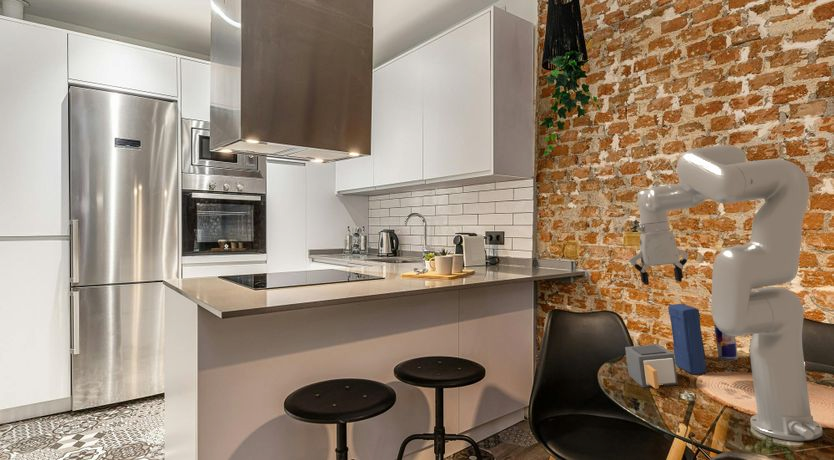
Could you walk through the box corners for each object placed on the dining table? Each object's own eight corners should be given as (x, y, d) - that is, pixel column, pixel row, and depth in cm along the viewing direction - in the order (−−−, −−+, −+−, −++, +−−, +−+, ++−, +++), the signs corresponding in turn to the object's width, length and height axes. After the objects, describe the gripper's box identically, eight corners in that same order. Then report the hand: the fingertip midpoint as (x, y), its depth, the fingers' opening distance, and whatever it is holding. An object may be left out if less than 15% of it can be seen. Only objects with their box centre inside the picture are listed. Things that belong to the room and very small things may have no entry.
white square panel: (685, 389, 128) (682, 364, 128) (655, 392, 129) (652, 367, 129) (674, 381, 135) (671, 358, 135) (646, 384, 136) (643, 360, 136)
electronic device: (708, 373, 141) (699, 308, 141) (691, 375, 141) (682, 310, 141) (690, 364, 150) (682, 303, 150) (674, 366, 150) (666, 305, 151)
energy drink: (716, 359, 151) (711, 323, 151) (721, 355, 155) (716, 319, 155) (735, 361, 147) (730, 324, 147) (740, 357, 151) (735, 320, 151)
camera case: (678, 384, 135) (673, 352, 135) (642, 387, 136) (638, 356, 136) (661, 372, 147) (657, 343, 147) (628, 375, 148) (625, 346, 148)
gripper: (630, 232, 141) (637, 287, 141) (690, 224, 139) (697, 281, 139) (622, 231, 149) (629, 284, 149) (679, 224, 146) (686, 278, 146)
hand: (662, 282), depth 144 cm, fingers open, 9 cm apart
